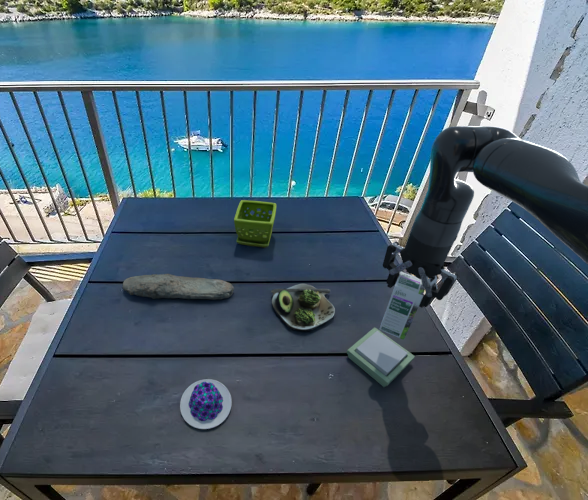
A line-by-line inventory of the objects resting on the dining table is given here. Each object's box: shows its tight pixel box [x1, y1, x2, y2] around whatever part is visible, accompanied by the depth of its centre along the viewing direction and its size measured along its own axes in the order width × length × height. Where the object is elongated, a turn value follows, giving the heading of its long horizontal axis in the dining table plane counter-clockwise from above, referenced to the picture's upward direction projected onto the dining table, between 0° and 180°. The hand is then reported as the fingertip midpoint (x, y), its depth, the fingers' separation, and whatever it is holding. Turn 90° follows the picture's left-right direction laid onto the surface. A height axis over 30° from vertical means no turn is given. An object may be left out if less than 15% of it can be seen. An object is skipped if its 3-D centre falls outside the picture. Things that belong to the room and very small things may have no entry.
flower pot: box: [233, 199, 277, 249], centre depth 128 cm, size 14×14×13 cm
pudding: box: [179, 378, 233, 430], centre depth 80 cm, size 12×12×5 cm
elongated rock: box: [121, 273, 235, 301], centre depth 109 cm, size 35×5×10 cm
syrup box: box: [378, 271, 425, 341], centre depth 78 cm, size 6×6×14 cm
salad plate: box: [269, 283, 336, 332], centre depth 104 cm, size 19×18×5 cm
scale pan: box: [355, 331, 408, 376], centre depth 89 cm, size 9×9×2 cm
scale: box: [346, 326, 416, 388], centre depth 90 cm, size 12×12×3 cm
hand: (406, 295), depth 76 cm, fingers closed on syrup box, 7 cm apart
